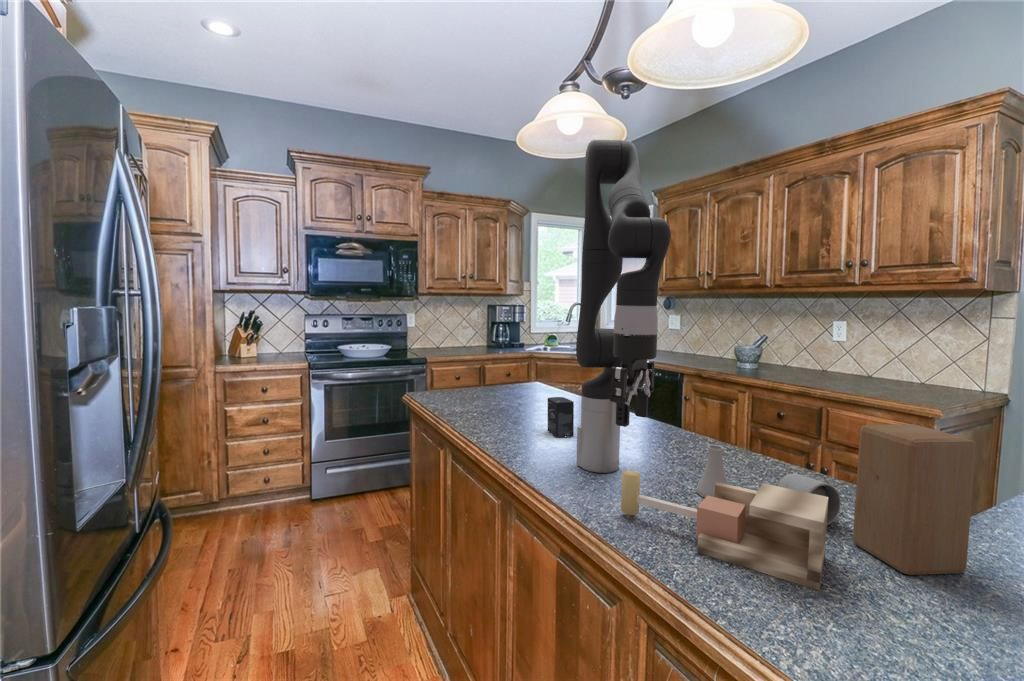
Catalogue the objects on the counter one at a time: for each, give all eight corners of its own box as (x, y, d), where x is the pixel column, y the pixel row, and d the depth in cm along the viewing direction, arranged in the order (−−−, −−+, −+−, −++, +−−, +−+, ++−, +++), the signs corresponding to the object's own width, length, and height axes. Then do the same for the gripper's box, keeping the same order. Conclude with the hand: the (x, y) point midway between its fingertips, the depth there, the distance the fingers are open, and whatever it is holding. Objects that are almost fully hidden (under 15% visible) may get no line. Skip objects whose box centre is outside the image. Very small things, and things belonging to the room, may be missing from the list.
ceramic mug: (802, 505, 91) (804, 467, 90) (840, 524, 83) (842, 482, 83) (756, 511, 89) (757, 471, 88) (790, 531, 81) (792, 488, 80)
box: (573, 437, 138) (574, 401, 137) (556, 438, 136) (556, 401, 136) (563, 430, 146) (564, 396, 145) (546, 431, 144) (547, 396, 143)
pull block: (614, 514, 84) (615, 476, 83) (628, 503, 88) (629, 467, 88) (736, 550, 72) (738, 505, 71) (744, 535, 76) (746, 493, 76)
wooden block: (849, 543, 76) (857, 423, 75) (905, 541, 77) (914, 422, 76) (905, 578, 66) (915, 440, 65) (969, 575, 67) (980, 440, 66)
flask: (737, 503, 92) (739, 453, 91) (698, 499, 93) (700, 450, 93) (727, 489, 99) (730, 443, 98) (692, 486, 101) (693, 440, 100)
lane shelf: (697, 552, 73) (699, 493, 72) (715, 526, 82) (717, 473, 81) (819, 590, 63) (823, 522, 62) (824, 557, 72) (828, 497, 71)
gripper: (631, 329, 91) (628, 411, 92) (598, 332, 79) (595, 425, 81) (669, 331, 86) (666, 417, 88) (640, 334, 75) (636, 433, 76)
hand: (632, 421), depth 84 cm, fingers open, 8 cm apart
